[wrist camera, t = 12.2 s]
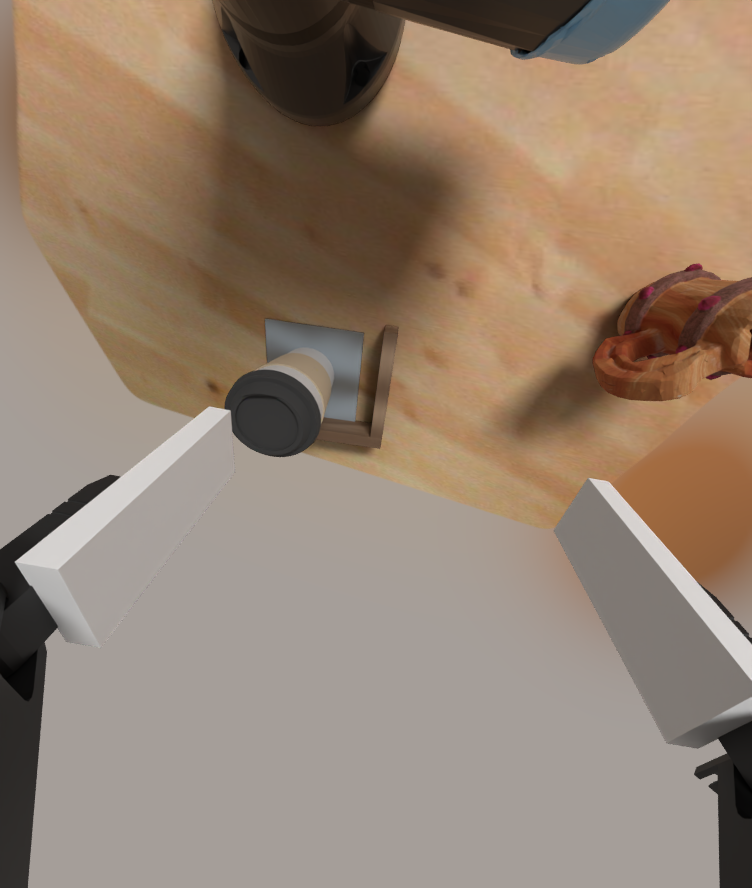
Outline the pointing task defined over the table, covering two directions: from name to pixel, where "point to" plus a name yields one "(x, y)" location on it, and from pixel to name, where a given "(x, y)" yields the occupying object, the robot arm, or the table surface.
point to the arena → (340, 376)
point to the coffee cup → (282, 403)
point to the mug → (678, 337)
